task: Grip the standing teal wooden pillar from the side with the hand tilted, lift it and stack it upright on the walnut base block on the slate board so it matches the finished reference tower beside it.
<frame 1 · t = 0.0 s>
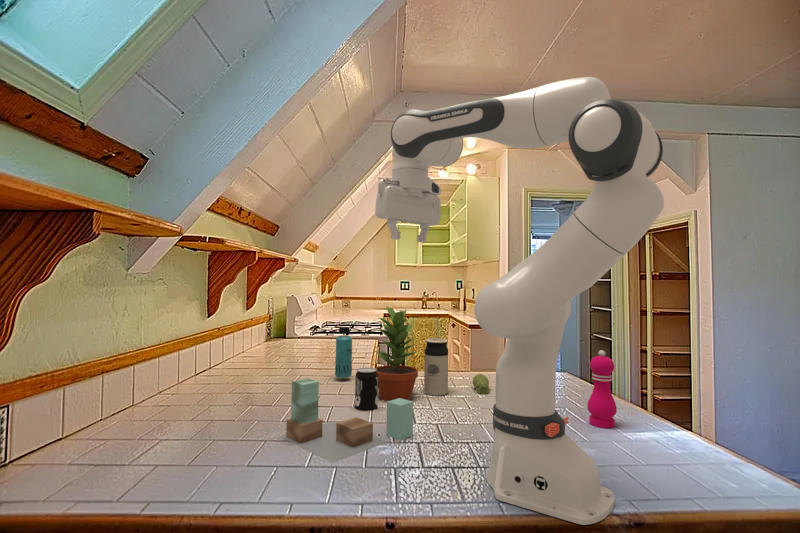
hand: (409, 240, 104), 48 cm above the worktop, tool pointing down, fingers open, 8 cm apart
base block: (354, 440, 99), point 1 cm above the worktop, touching board
pear: (481, 391, 149), on the worktop
board: (333, 443, 100), on the worktop
pepper mill: (601, 425, 116), on the worktop
beverage bottle: (343, 380, 162), on the worktop
travel mug: (435, 393, 145), on the worktop
pillar: (399, 439, 103), on the worktop
potted plant: (396, 397, 140), on the worktop
beverage can: (366, 411, 125), on the worktop
reference tower: (304, 436, 101), resting on board
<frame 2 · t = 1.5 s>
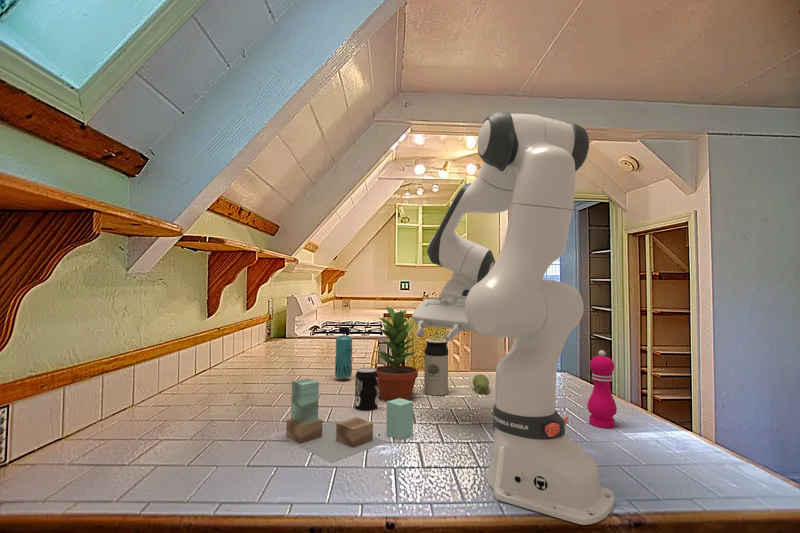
hand: (432, 337, 113), 23 cm above the worktop, tool tilted 45°, fingers open, 8 cm apart
nothing on the worktop moved.
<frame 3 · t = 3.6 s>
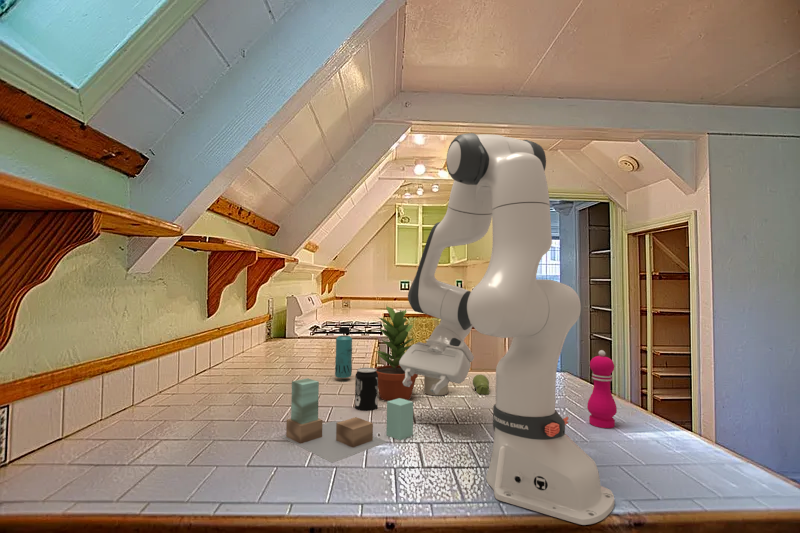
hand: (419, 388, 109), 11 cm above the worktop, tool tilted 45°, fingers open, 8 cm apart
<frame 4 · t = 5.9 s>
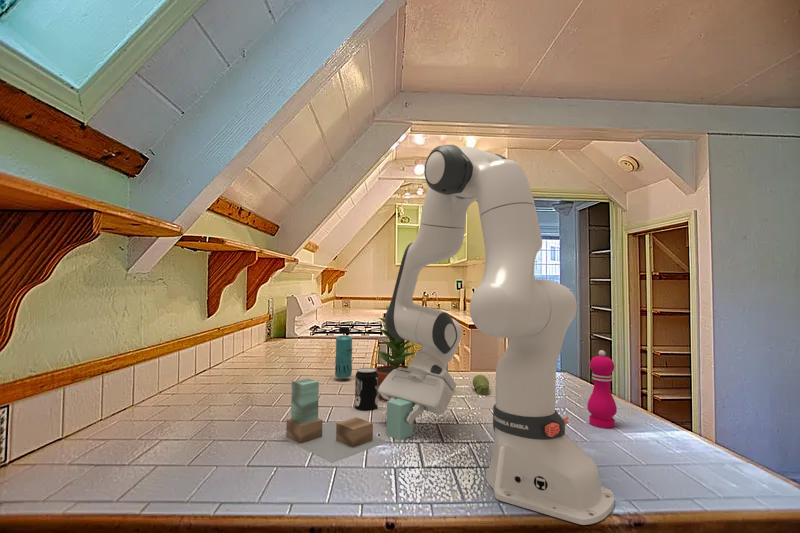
hand: (398, 419, 103), 5 cm above the worktop, tool tilted 45°, fingers closed on pillar, 4 cm apart
pillar: (399, 439, 103), on the worktop, touching gripper
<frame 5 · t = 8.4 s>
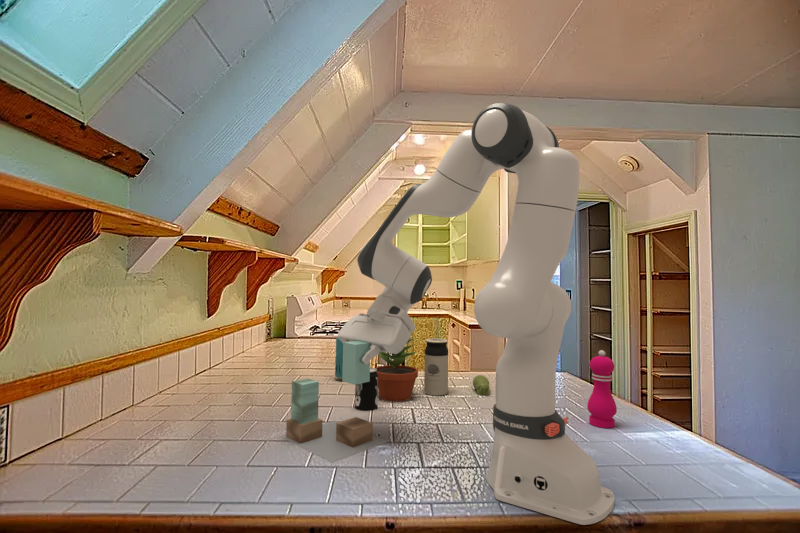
hand: (354, 360, 100), 19 cm above the worktop, tool tilted 45°, fingers closed on pillar, 4 cm apart
pillar: (356, 381, 100), point 15 cm above the worktop, touching gripper
when the fingers open (11 cm above the worktop, at t = 10.8 s): pillar stays where it is, resting on base block.
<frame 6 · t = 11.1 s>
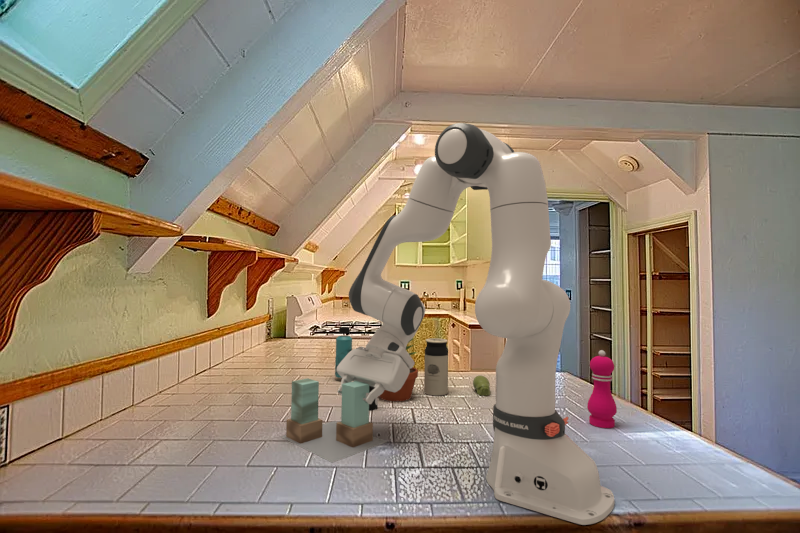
hand: (353, 398, 99), 11 cm above the worktop, tool tilted 45°, fingers open, 8 cm apart
base block: (354, 440, 99), point 1 cm above the worktop, touching board, pillar
pillar: (354, 423, 99), point 5 cm above the worktop, touching base block
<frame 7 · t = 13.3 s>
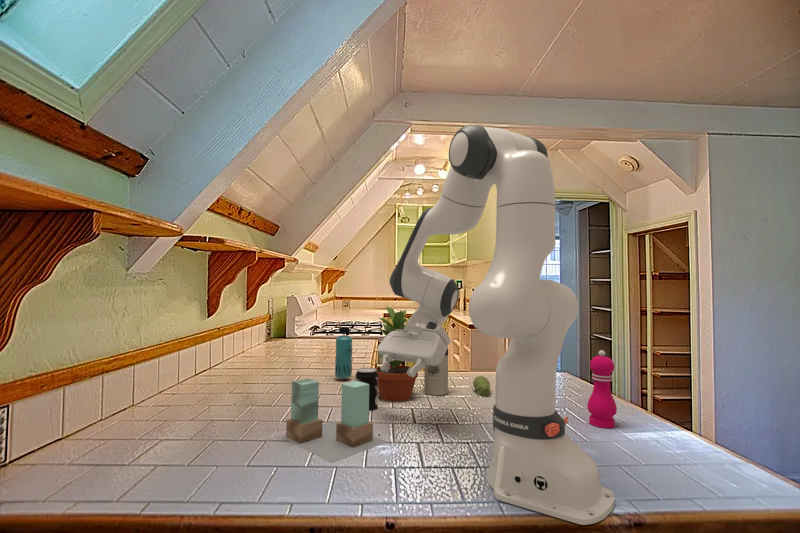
hand: (396, 372, 109), 15 cm above the worktop, tool tilted 45°, fingers open, 8 cm apart
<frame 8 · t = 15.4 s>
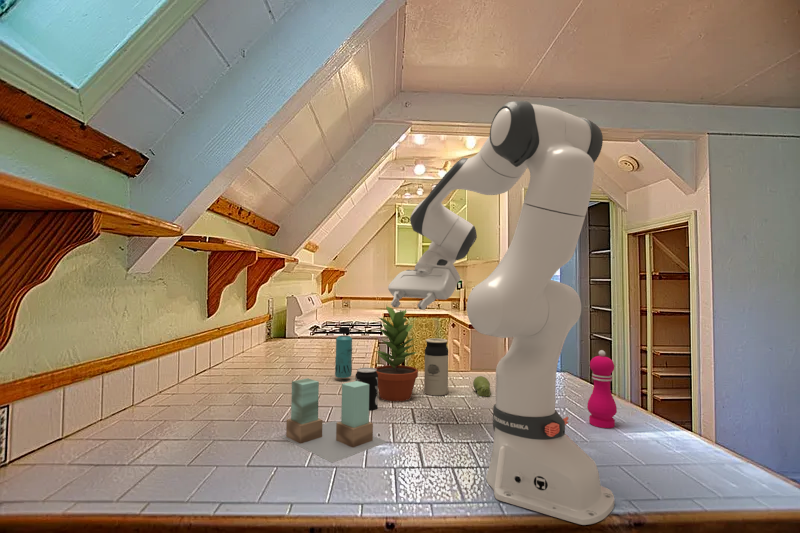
hand: (406, 306, 111), 31 cm above the worktop, tool tilted 45°, fingers open, 8 cm apart
at the end: pillar 0.1 cm off-centre on the base block, point 4.0 cm above the base block's base; pillar tilted 0°; the gripper is holding nothing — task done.
